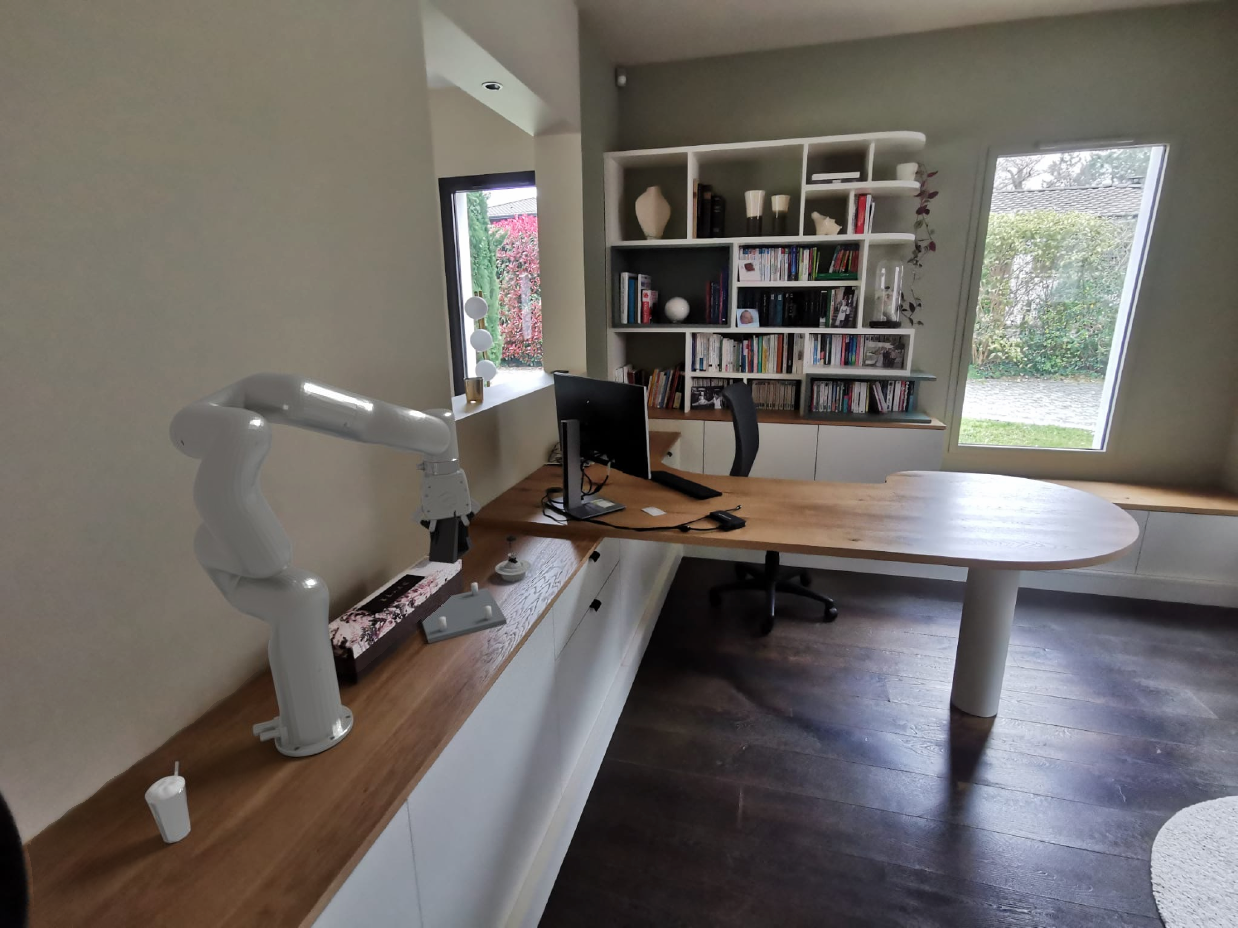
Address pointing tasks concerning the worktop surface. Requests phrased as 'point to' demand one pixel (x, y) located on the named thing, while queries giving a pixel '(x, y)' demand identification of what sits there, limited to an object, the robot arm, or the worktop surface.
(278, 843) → the worktop surface
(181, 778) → the milkshake
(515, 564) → the grey spinning top
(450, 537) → the phone stand
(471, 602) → the base plate
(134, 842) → the worktop surface
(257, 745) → the worktop surface
